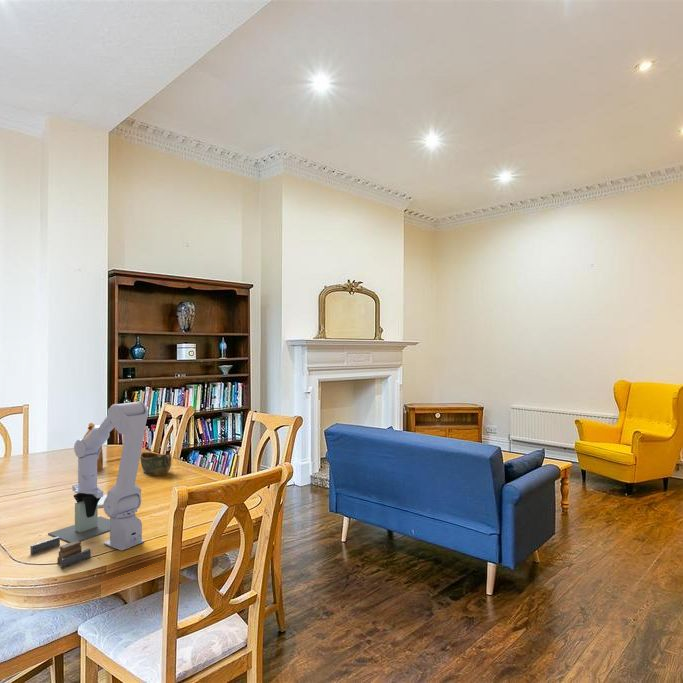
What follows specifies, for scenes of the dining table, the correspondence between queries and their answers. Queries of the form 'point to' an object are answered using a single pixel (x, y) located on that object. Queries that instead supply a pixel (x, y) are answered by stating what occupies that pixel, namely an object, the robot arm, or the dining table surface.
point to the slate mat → (72, 535)
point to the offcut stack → (69, 550)
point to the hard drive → (101, 501)
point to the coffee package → (100, 460)
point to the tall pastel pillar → (84, 518)
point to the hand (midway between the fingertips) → (87, 515)
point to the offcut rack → (64, 561)
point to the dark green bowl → (155, 463)
